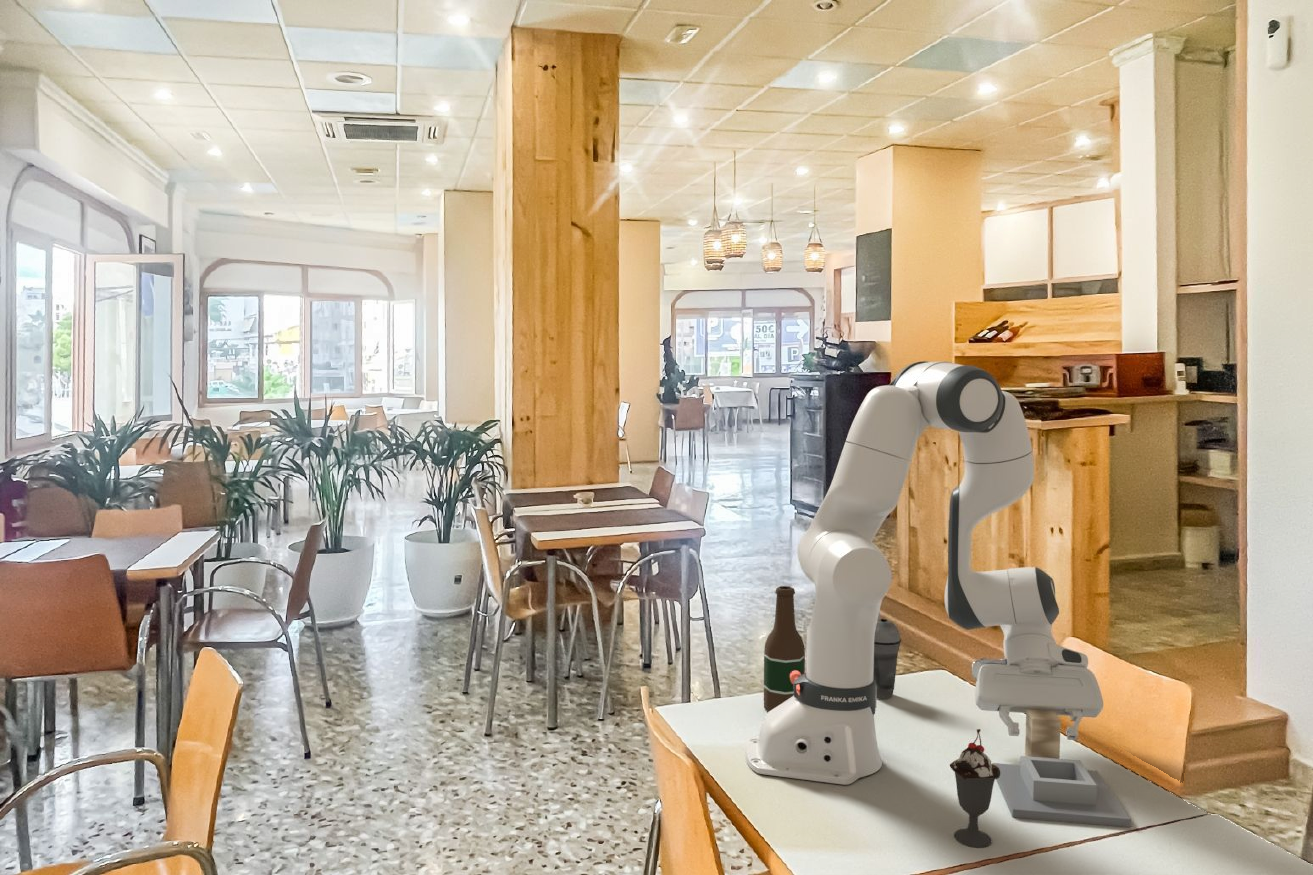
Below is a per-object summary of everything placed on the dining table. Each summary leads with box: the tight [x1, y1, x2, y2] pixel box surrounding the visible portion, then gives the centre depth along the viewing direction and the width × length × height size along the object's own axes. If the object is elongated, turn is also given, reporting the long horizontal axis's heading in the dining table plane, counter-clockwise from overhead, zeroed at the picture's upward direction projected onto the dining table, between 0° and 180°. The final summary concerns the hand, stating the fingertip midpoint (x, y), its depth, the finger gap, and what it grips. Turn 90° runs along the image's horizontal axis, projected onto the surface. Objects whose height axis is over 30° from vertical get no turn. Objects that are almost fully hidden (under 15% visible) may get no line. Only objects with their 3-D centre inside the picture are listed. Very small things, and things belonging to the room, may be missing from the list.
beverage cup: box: [873, 610, 902, 700], centre depth 181 cm, size 7×7×20 cm
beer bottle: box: [763, 585, 806, 713], centre depth 172 cm, size 8×8×24 cm
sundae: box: [949, 728, 1000, 848], centre depth 125 cm, size 7×7×15 cm
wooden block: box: [1024, 709, 1062, 759], centre depth 150 cm, size 4×4×8 cm
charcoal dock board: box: [991, 755, 1132, 828], centre depth 138 cm, size 16×16×4 cm
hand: (1043, 736), depth 149 cm, fingers open, 8 cm apart
